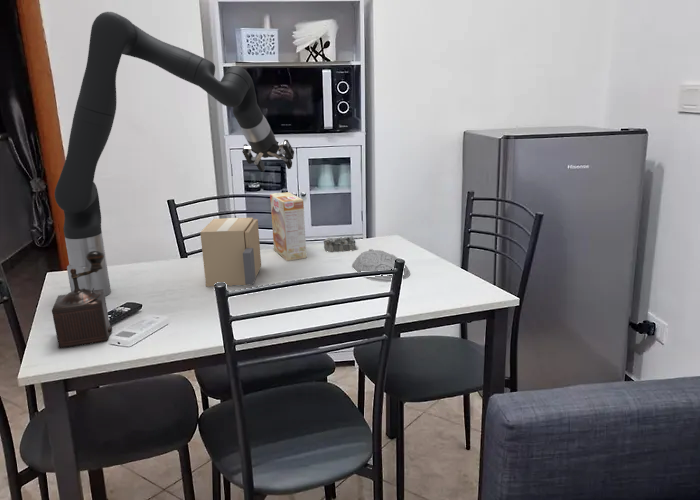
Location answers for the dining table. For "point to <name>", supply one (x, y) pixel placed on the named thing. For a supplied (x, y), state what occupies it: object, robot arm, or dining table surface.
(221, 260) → the carton
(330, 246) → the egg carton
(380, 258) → the grey oval domed piece
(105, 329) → the manual coffee grinder
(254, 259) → the carton flap
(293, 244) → the coffeecake box
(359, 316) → the dining table surface
